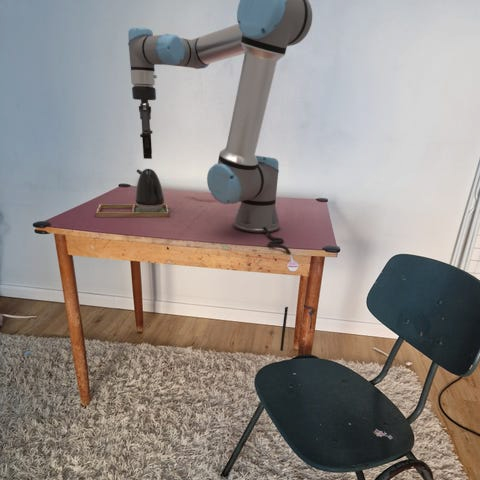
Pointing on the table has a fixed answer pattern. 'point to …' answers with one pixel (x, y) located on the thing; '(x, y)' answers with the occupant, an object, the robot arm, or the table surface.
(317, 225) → the table surface
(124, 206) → the divided wooden tray
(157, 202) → the pump dispenser
